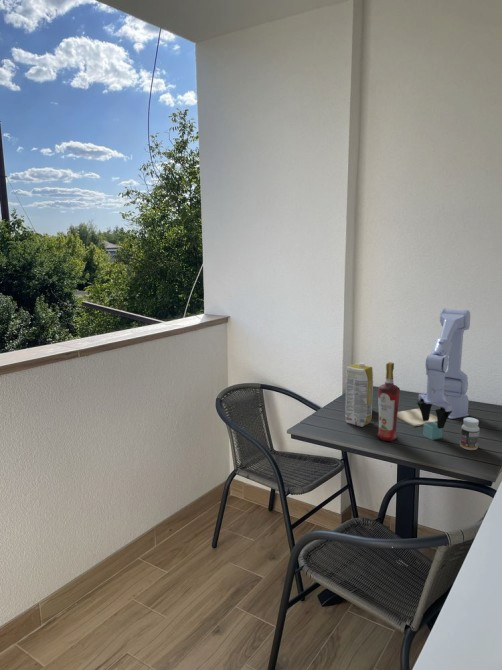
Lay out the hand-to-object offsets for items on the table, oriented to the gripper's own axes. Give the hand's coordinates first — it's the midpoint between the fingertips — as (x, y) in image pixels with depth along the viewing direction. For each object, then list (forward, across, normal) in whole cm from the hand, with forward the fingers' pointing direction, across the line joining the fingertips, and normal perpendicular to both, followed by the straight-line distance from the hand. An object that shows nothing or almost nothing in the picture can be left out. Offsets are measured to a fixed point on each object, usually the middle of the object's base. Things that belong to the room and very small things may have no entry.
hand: (433, 424), depth 171 cm
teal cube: (+5, 0, 0) cm, 5 cm away
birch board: (+5, -17, +7) cm, 19 cm away
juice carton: (+5, -22, -17) cm, 28 cm away
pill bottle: (+5, +12, +5) cm, 14 cm away
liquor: (+5, -5, -16) cm, 17 cm away
